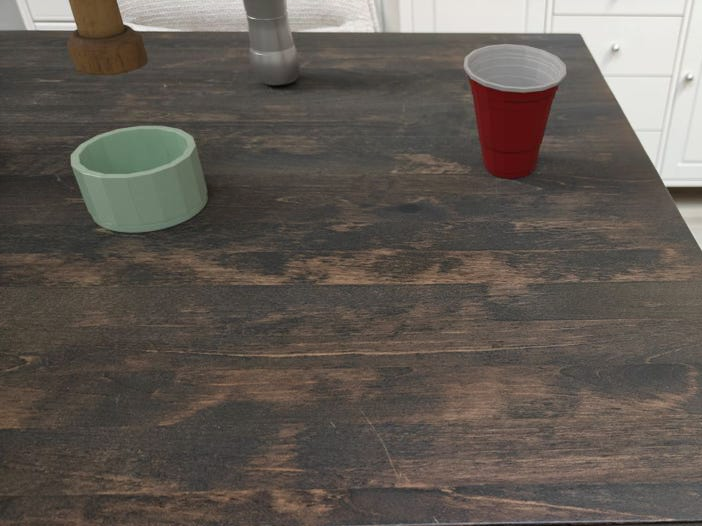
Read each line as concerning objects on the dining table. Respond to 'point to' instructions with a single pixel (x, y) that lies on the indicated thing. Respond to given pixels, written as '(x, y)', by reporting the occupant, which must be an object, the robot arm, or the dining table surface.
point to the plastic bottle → (271, 42)
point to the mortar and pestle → (104, 40)
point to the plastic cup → (512, 103)
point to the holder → (140, 178)
